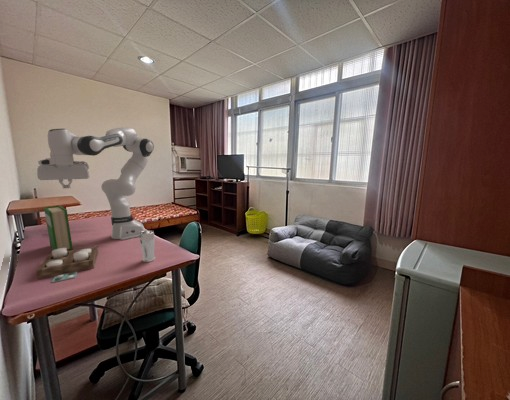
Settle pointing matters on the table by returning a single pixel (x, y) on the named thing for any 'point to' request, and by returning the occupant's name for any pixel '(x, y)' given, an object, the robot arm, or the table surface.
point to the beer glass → (147, 245)
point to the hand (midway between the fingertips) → (66, 188)
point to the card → (64, 277)
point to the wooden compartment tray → (67, 264)
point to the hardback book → (58, 227)
